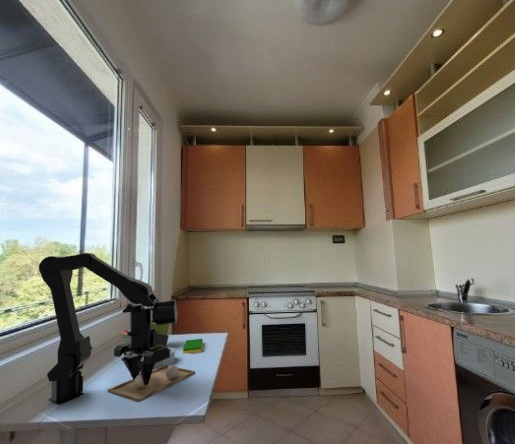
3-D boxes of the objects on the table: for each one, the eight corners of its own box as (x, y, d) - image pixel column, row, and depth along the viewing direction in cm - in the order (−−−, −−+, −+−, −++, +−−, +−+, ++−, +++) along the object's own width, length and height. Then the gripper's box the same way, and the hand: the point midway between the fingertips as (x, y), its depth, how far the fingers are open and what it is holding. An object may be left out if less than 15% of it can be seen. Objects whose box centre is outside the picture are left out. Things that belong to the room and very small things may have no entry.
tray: (137, 403, 72) (137, 399, 73) (107, 393, 80) (107, 389, 80) (195, 374, 89) (195, 371, 89) (165, 368, 97) (165, 365, 97)
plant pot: (170, 350, 117) (169, 322, 119) (139, 354, 115) (139, 325, 117) (172, 342, 129) (172, 317, 130) (145, 346, 126) (144, 319, 128)
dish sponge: (182, 355, 110) (182, 349, 111) (186, 346, 124) (186, 340, 124) (201, 353, 111) (201, 347, 112) (202, 344, 125) (202, 338, 125)
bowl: (153, 372, 93) (153, 360, 94) (131, 367, 100) (131, 355, 100) (181, 360, 103) (181, 349, 104) (160, 356, 110) (159, 345, 110)
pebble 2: (171, 382, 83) (171, 368, 84) (163, 380, 85) (162, 366, 86) (181, 377, 87) (181, 364, 87) (173, 375, 89) (172, 362, 89)
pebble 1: (139, 391, 79) (139, 376, 79) (131, 389, 81) (131, 374, 81) (151, 385, 82) (151, 371, 82) (143, 383, 84) (143, 370, 84)
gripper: (183, 322, 85) (185, 377, 83) (145, 319, 95) (146, 368, 93) (152, 331, 76) (153, 394, 74) (112, 327, 86) (112, 382, 84)
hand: (141, 383), depth 81 cm, fingers open, 4 cm apart
